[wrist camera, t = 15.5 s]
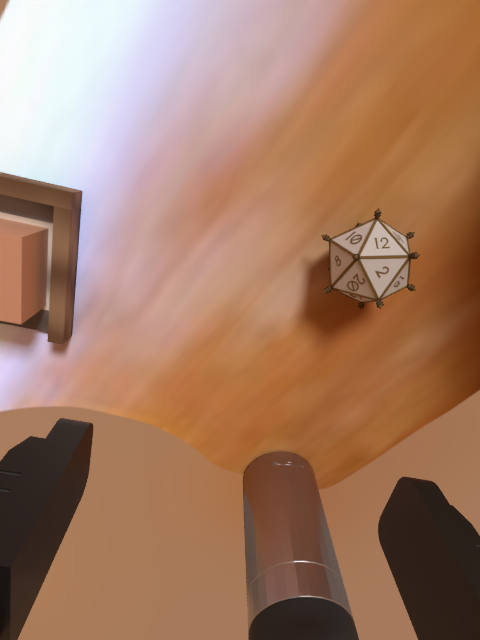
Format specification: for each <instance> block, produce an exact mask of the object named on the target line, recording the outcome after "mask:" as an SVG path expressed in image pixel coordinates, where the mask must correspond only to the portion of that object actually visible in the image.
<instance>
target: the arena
mask: <svg viewBox="0 0 480 640" xmlns="http://www.w3.org/2000/svg"><path fill="white" fill-rule="evenodd" d="M81 201H82V191H80V190H76V189H71V188H67V187H63V186H58V185H54V184H49V183H45V182H41V181H36V180H32V179H28V178H23V177H19V176H14V175H10V174H6V173H1V172H0V218H2V219H7V220H12V221H17V222H22V223H26V224H31V225H36V226H41V227H45V228H49V233H48V264H47V295H46V306H45V307H44V308H42V309H41V310H40V311H38V312H37V313H36V314H34V315H33V316H32V317H31V318H29V319H28V320H27V321H25V322H24V323H23V324H16V323H10V322H5V321H0V323H4V324H9V325H14V326H19V327H25V328H30V329H35V330H41V331H46V332H48V342H53V343H58V344H64V343H65V342H66V340H67V339H68V338H69V337H70V336H71V335H72V328H73V314H74V300H75V286H76V271H77V257H78V243H79V229H80V215H81Z"/></svg>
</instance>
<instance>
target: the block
mask: <svg viewBox="0 0 480 640" xmlns="http://www.w3.org/2000/svg"><path fill="white" fill-rule="evenodd" d="M48 233H49V228H45V227H41V226H36V225H31V224H26V223H22V222H17V221H12V220H7V219H2V218H0V321H5V322H10V323H16V324H23V323H24V322H25V321H27V320H28V319H29V318H31V317H32V316H33V315H34V314H36V313H37V312H38V311H40V310H41V309H42V308H44V307H45V306H46V295H47V264H48Z"/></svg>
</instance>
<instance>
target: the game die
mask: <svg viewBox="0 0 480 640" xmlns="http://www.w3.org/2000/svg"><path fill="white" fill-rule="evenodd" d="M381 213H382V212H381V211H380V209H379V208H378V209H377V210H376V211H375V214H374V216H375V218H374V219H372V220H370V221H367V222H365V223H363V224H360V223H358V224H357V225H356V227H355V228H352V229H350V230H348V231H346V232H344V233H342V234H340V235H337V236H335V237H333V238H330V237H329V236H327V234H326V235H322V237H323V240H326V241H329V260H330V268H329V270H330V287H327V288H325V290H324V292H323V293H329V292H331V290H332V289H333V290H335V291H338V292H340V293H342V294H344V295H346V296H348V297H350V298H353V299H355V300H357V301H359V302H360V303H359V305H358V307H359V308H360V310H361V309H362V308H364V303H363V302H374V301H377V302H376V304H377V307H378V308H380V309H381V308H382V306H383V305H384V304H383V302H382V301H381V300H382V299H384V298H386V297H388V296H390V295H392V294H394V293H396V292H398V291H400V290H402V289H403V288H405V287H407V288H408V290H410V291H415V290H416V289H415V287H414V286H413V285H412V284H411V285H410V284H409V274H410V263H411V258H412V259H417V258H418V257H419V256H420V254H418V253H417V252H415V253H410V248H409V243H408V239H410V238H412V237H414V233H415V232H409V233H408V234H407V235H406V236H404V235H403V234H401V233H400V232H398V231H397V230H395V229H394V228H392V227H391V226H389V225H388V224H386V223H385V222H383V221H382V220H380V219H379V217H380V216H381V215H380V214H381Z"/></svg>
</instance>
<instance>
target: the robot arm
mask: <svg viewBox="0 0 480 640" xmlns="http://www.w3.org/2000/svg"><path fill="white" fill-rule="evenodd" d="M92 437H93V424H92V423H88V422H82V421H76V420H70V419H64V418H61V419H59V420H58V421H57V423H56V424H55V426H54V427H53V428H52V430H51V431H50V433H49V434H48V436H47V437H46V439H44V438H38V437H32V436H30V437H29V438H27V439H26V440H24V441H23V442H21V443H20V444H18V445H17V446H15V447H13V448H12V449H10V450H9V451H8V452H7V454H6V455H5V456H4V458H3V459H2V460H1V461H0V640H17V639H18V637H19V635H20V633H21V630H22V628H23V626H24V624H25V621H26V619H27V617H28V615H29V613H30V610H31V608H32V606H33V604H34V601H35V600H36V597H37V595H38V593H39V591H40V588H41V586H42V584H43V582H44V579H45V577H46V575H47V573H48V570H49V569H50V566H51V564H52V562H53V560H54V557H55V555H56V553H57V551H58V549H59V546H60V544H61V542H62V539H63V538H64V535H65V533H66V531H67V529H68V527H69V524H70V522H71V520H72V518H73V515H74V513H75V511H76V509H77V506H78V504H79V502H80V500H81V498H82V495H83V492H84V489H85V486H86V483H87V479H88V474H89V465H90V456H91V447H92ZM243 499H244V529H245V556H246V580H247V581H246V583H247V603H248V604H247V605H248V631H249V640H359V638H358V635H357V631H356V627H355V624H354V620H353V616H352V613H351V609H350V606H349V602H348V598H347V594H346V590H345V587H344V584H343V580H342V576H341V572H340V569H339V565H338V561H337V558H336V554H335V550H334V547H333V543H332V539H331V535H330V531H329V528H328V524H327V521H326V517H325V513H324V509H323V506H322V502H321V498H320V494H319V490H318V486H317V483H316V479H315V475H314V472H313V469H312V467H311V466H310V464H309V463H308V462H307V461H306V460H305V459H303V458H302V457H300V456H298V455H296V454H292V453H288V452H273V453H269V454H265V455H263V456H261V457H259V458H257V459H256V460H254V461H253V462H252V463H251V464H250V465H249V466H248V467H247V469H246V471H245V473H244V476H243ZM378 534H379V540H380V544H381V547H382V549H383V551H384V554H385V557H386V559H387V562H388V564H389V567H390V569H391V572H392V574H393V577H394V579H395V582H396V584H397V587H398V589H399V592H400V595H401V597H402V600H403V602H404V605H405V607H406V610H407V612H408V615H409V617H410V620H411V622H412V625H413V627H414V630H415V632H416V635H417V638H418V640H480V536H479V535H478V533H477V531H476V530H475V528H474V527H473V525H472V524H471V523H470V522H469V521H468V520H467V519H466V518H465V517H464V516H463V515H462V514H461V513H460V512H459V511H458V510H457V509H456V508H455V507H454V506H452V505H450V504H449V503H448V501H447V499H446V498H445V496H444V495H443V493H442V492H441V490H440V489H439V487H438V486H437V485H436V484H435V483H434V482H432V481H428V480H422V479H416V478H410V477H402V478H400V479H399V481H398V482H397V484H396V486H395V488H394V490H393V492H392V494H391V497H390V498H389V500H388V502H387V504H386V506H385V508H384V510H383V513H382V515H381V517H380V520H379V525H378Z"/></svg>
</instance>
